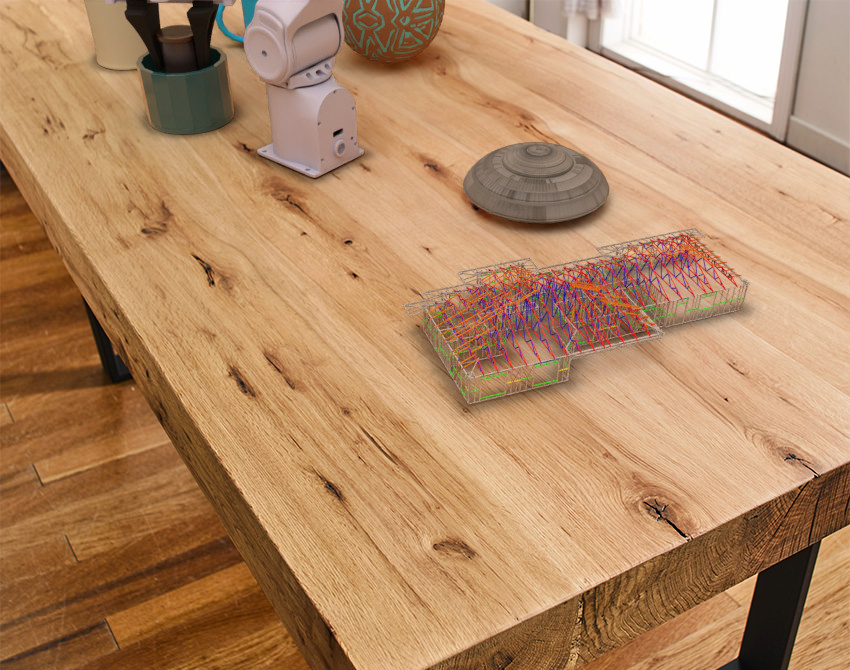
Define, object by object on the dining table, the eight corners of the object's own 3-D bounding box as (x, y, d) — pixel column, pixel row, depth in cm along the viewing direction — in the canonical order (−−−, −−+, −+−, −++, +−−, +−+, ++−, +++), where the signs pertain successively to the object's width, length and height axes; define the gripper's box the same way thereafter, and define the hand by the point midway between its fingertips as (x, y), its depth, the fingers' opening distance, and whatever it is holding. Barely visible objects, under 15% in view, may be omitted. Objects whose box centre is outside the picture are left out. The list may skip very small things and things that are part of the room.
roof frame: (687, 245, 89) (697, 195, 85) (783, 332, 78) (799, 279, 75) (391, 306, 82) (389, 255, 78) (452, 411, 71) (453, 358, 67)
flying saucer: (615, 174, 100) (622, 125, 96) (597, 243, 89) (604, 192, 86) (480, 158, 103) (482, 110, 99) (446, 224, 92) (447, 173, 89)
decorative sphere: (425, 86, 119) (423, -40, 109) (317, 74, 122) (306, -50, 112) (458, 46, 129) (459, -72, 119) (358, 36, 133) (351, -80, 123)
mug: (296, 29, 135) (290, -31, 130) (311, 48, 129) (305, -14, 124) (214, 40, 132) (205, -21, 127) (225, 59, 126) (216, -4, 121)
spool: (210, 83, 108) (203, 34, 105) (170, 90, 107) (160, 41, 103) (200, 69, 112) (192, 22, 108) (160, 76, 110) (151, 28, 107)
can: (97, 73, 123) (74, -23, 115) (96, 49, 130) (74, -43, 122) (168, 66, 125) (149, -30, 117) (163, 42, 131) (146, -49, 123)
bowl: (251, 114, 113) (243, 56, 108) (184, 142, 107) (173, 82, 102) (198, 93, 118) (188, 36, 113) (132, 118, 112) (118, 60, 107)
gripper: (81, -50, 97) (111, 79, 106) (216, -48, 96) (235, 82, 105) (103, -68, 102) (131, 56, 111) (232, -67, 101) (249, 59, 110)
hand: (183, 67), depth 108 cm, fingers closed on spool, 4 cm apart
